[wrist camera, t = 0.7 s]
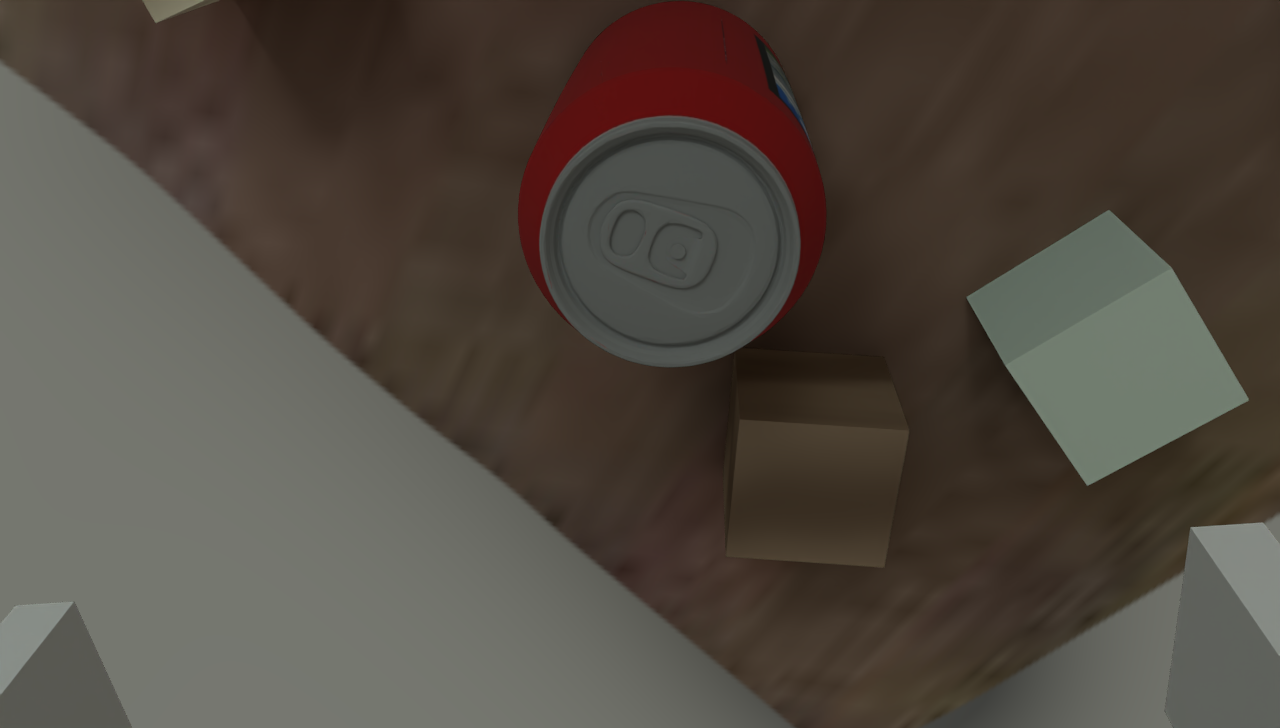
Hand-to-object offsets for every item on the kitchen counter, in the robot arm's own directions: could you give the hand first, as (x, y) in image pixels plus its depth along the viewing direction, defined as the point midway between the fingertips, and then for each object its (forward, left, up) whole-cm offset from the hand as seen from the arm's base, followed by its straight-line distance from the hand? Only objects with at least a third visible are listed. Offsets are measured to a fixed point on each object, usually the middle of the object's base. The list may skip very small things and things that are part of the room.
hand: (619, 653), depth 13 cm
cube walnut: (+10, +4, -23) cm, 25 cm away
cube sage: (+7, +13, -23) cm, 27 cm away
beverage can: (-1, +1, -23) cm, 23 cm away
